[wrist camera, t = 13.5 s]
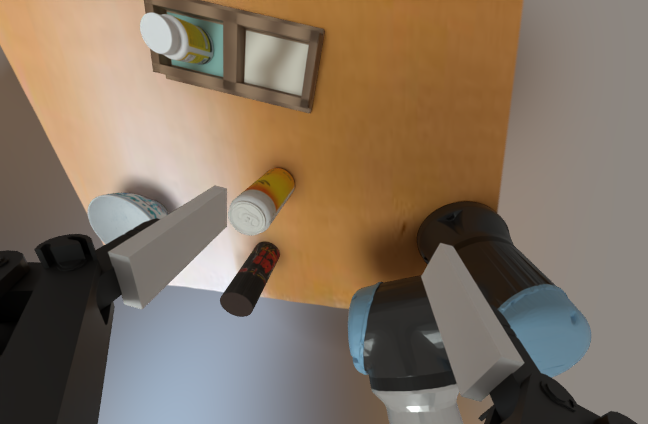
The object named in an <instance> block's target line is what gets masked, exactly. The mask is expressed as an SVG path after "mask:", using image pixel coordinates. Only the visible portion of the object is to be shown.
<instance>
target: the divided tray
mask: <svg viewBox="0 0 648 424" xmlns="http://www.w3.org/2000/svg"><path fill="white" fill-rule="evenodd" d="M144 4H145V12H146V13H150V12H152V13H156V14H159V15H162V14H168V15H171V16H174V17H176V18H179V19H181V20H184V21H186V22H189V23H191V24H194V25H196V26H199V27H201V28H202V29H204V30H205V31H206V32H207V33H208V34H209V36H210V38H211V40H212V42H213V47H214V52H213V57H212V59H211V61H210V62H209V63H207V64H203V65H200V64H194V63H189V62H183V61H177V60H172V59H170V58H168V57H166V56H165V55H163V54H159V53H156V52H154V51H153V50H151V49H150V51H151V58H152V66H153V72H157V73H161V74H165V75H166V79H170V80H174V81H178V82H183V83H187V84H191V85H195V86H199V87H203V88H207V89H211V90H216V91H220V92H224V93H228V94H232V95H236V96H240V97H244V98H249V99H253V100H257V101H261V102H265V103H269V104H273V105H277V106H281V107H286V108H290V109H294V110H298V111H302V112H306V113H311V111H312V105H313V99H314V93H315V87H316V81H317V75H318V69H319V63H320V57H321V51H322V45H323V40H324V34H325V30H324V29H321V28H317V27H313V26H308V25H304V24H300V23H295V22H291V21H287V20H282V19H278V18H274V17H270V16H265V15H261V14H257V13H252V12H248V11H244V10H239V9H235V8H231V7H226V6H222V5H218V4H213V3H209V2H205V1H201V0H144Z"/></svg>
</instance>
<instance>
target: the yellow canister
mask: <svg viewBox="0 0 648 424" xmlns="http://www.w3.org/2000/svg"><path fill="white" fill-rule="evenodd" d="M294 187H295V184H294V180H293V178H292V176H291V175H290V174H289V173H288V172H287V171H286V170H284V169H280V168H273V169H271V170H269V171H268V172H267V173H265V174H264V175H263V176H262V177H261V178H259V179H258V180H257V181H256V182H255V183H253V184H252V185H251V186H250V187H249V188H247V189H246V190H245V191H244V192H242V193H241V194H240V195H239V196H238V197H236V198H235V199H234V200H233V201H232V203H231V205H230V209H229V212H228V218H229V221H230V223H231V225H232V226H233V227H234V228H235V229H236V230H237V231H239V232H240V233H242V234H245V235H257V234H259V233H262V232H264V231H265V230H266V229H267V228H268V227H269V226H270V224H271V223H272V221H273V220H274V219H275V217H276V216H277V214H278V213H279V211H280V210H281V208H282V207H283V206H284V204H285V203H286V201H287V200H288V198H289V197H290V195H291V194H292V193H293V191H294Z"/></svg>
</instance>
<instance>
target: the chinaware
mask: <svg viewBox="0 0 648 424" xmlns="http://www.w3.org/2000/svg"><path fill="white" fill-rule="evenodd" d="M167 215H168V212H167V210H166V209H165V208H164V206H163V205H161V204H160V203H159V202H157V201H155V200H151V199H148V198H146V197H144V196H141V195H137V194H131V193H113V194H106V195H102V196H98V197H96V198H94V199H93V200H92V201H91V202H90V204H89V207H88V218H89V221H90V224H91V226H92V228H93V230H94V231H95V233H96V234H97V235H98V237H99V238H100V239H101V240H102V241H103V242H104V243H105V244H107V243H109V242H111V241H112V240H114V239H116V238H118V237H119V236H121V235H124V234H125V233H126V232H128V231H129V230H131V229H132V230H133V228H135V227H136V226H138V225H140V224H141V223H143V222H146V221H149V220H152V219H155V218H158V219H162V218H163V217H165V216H167Z"/></svg>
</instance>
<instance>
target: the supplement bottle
mask: <svg viewBox="0 0 648 424" xmlns="http://www.w3.org/2000/svg"><path fill="white" fill-rule="evenodd" d="M140 30H141V34H142V37H143V39H144V41H145V43H146V44H147V46H148V47H149V48H150V49H151V50H153V51H154V52H156V53H159V54H163V55H165V56H166V57H168V58H170V59H172V60H177V61H183V62H189V63H194V64H200V65H203V64H207V63H209V62H210V61H211V59H212V57H213V52H214V47H213V42H212V40H211V38H210V36H209V34H208V33H207V32H206V31H205V30H204V29H202V28H201V27H199V26H196V25H194V24H191V23H189V22H186V21H184V20H181V19H179V18H176V17H174V16H171V15H168V14H162V15H159V14H156V13H152V12H150V13H146V14H145V15H144V16H143V17H142V19H141V23H140Z"/></svg>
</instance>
